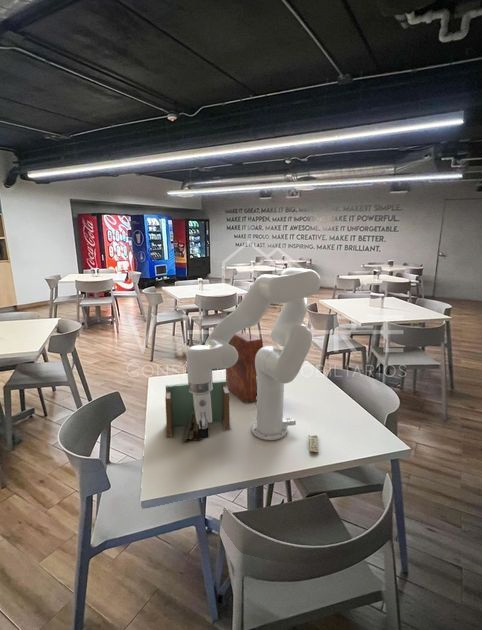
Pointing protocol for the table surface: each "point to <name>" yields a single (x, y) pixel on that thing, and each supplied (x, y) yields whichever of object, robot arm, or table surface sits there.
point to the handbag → (244, 366)
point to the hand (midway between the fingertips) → (203, 437)
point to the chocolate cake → (192, 428)
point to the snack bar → (313, 443)
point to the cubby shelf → (182, 404)
